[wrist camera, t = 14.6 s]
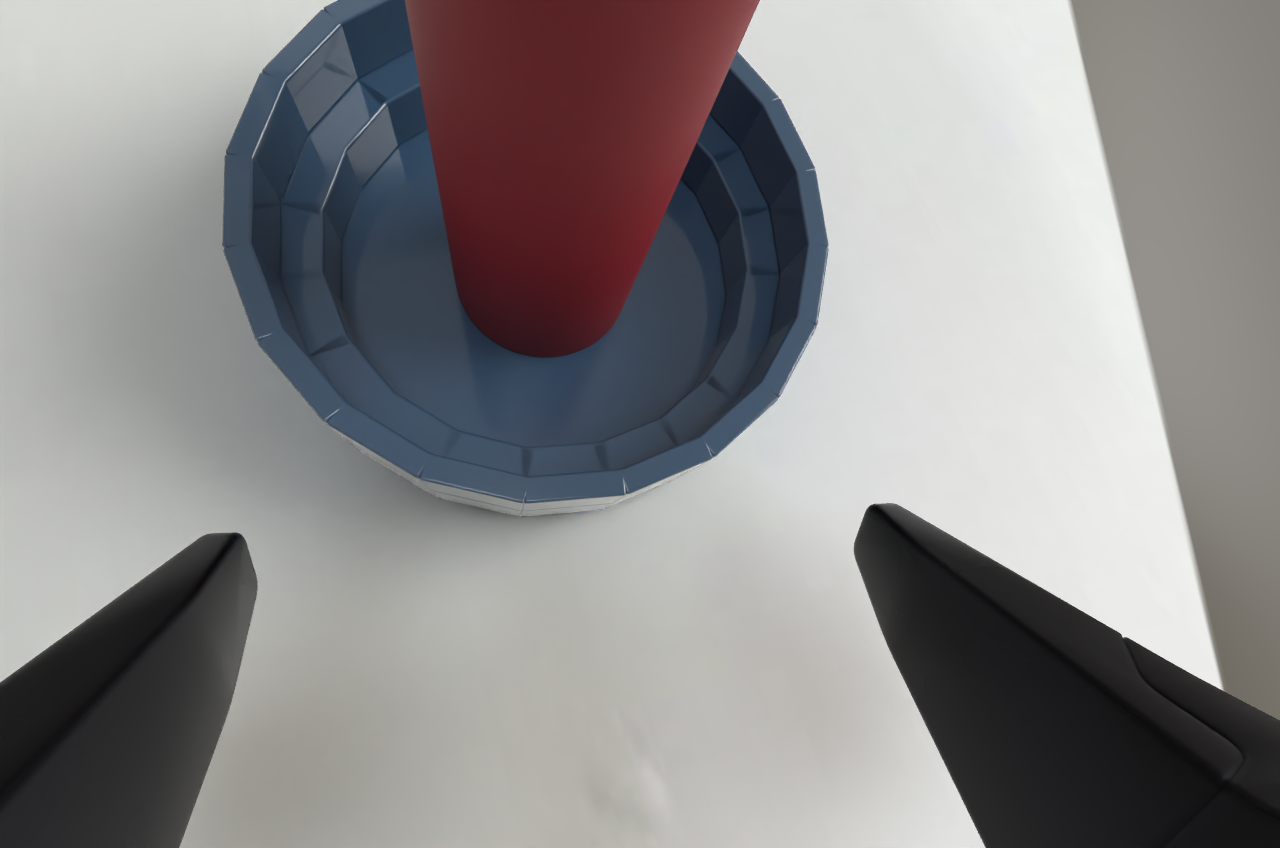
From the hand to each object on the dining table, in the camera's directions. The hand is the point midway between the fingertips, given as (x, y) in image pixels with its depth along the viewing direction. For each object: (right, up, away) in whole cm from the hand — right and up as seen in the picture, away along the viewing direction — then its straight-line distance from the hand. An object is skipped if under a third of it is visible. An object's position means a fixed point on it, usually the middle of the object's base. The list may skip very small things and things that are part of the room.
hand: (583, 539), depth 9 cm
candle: (-2, +6, +10) cm, 12 cm away
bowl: (-2, +6, +10) cm, 12 cm away
